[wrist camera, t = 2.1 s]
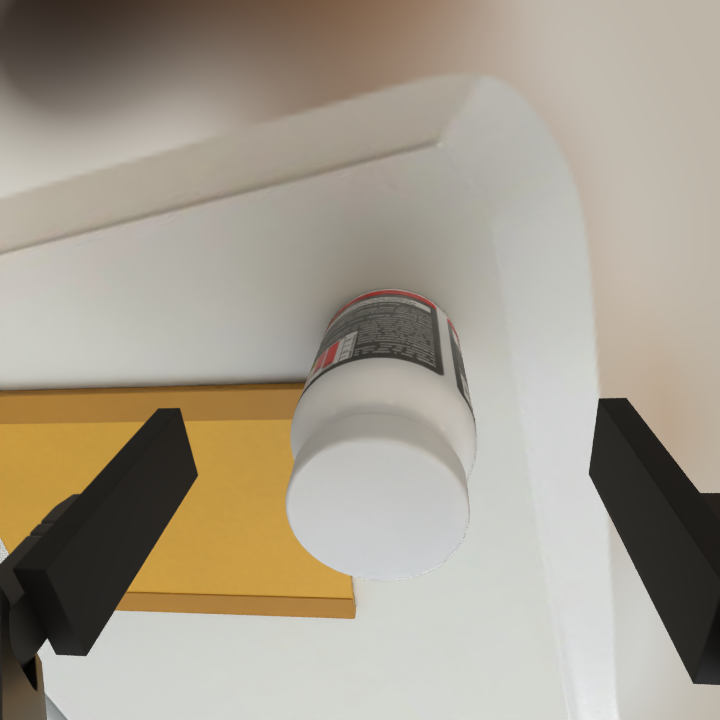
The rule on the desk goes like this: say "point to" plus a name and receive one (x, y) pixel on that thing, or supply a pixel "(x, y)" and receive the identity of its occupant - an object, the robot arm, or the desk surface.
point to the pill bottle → (383, 441)
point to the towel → (199, 507)
